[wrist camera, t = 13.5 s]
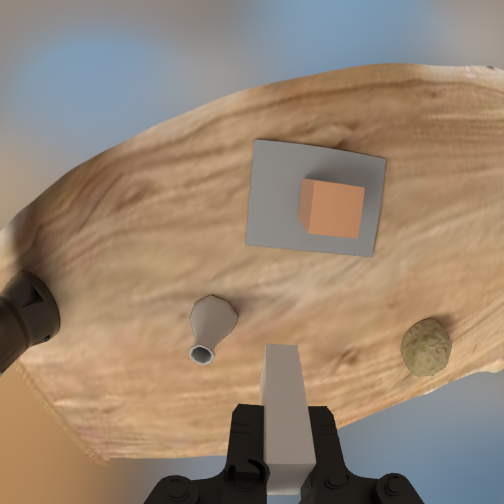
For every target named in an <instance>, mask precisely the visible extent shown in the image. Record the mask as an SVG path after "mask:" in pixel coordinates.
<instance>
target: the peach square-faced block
mask: <svg viewBox="0 0 504 504" xmlns="http://www.w3.org/2000/svg"><path fill="white" fill-rule="evenodd" d="M364 191H365V188H364V187H359V186H353V185H348V184H343V183H336V182H329V181H321V180H313V179H305V178H302V183H301V194H300V203H299V213H298V220H299V221H300V222H301V224H302V225H303V227H304V228H305V229H306V231H307V232H308V234H318V235H328V236H338V237H347V238H357V239H358V234H359V228H360V221H361V214H362V207H363V199H364Z"/></svg>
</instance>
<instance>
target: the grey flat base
mask: <svg viewBox="0 0 504 504" xmlns="http://www.w3.org/2000/svg"><path fill="white" fill-rule="evenodd" d="M385 165H386V159H383V158H378V157H374V156H369V155H364V154H359V153H353V152H348V151H342V150H337V149H330V148H324V147H317V146H310V145H303V144H295V143H287V142H278V141H267V140H256V139H254V150H253V161H252V172H251V184H250V196H249V208H248V219H247V231H246V244H245V245H248V246H259V247H270V248H280V249H291V250H302V251H312V252H323V253H333V254H343V255H354V256H364V257H372V254H373V249H374V243H375V238H376V232H377V226H378V220H379V214H380V207H381V200H382V192H383V184H384V175H385ZM302 178H305V179H313V180H321V181H329V182H336V183H343V184H348V185H353V186H359V187H364V188H365V191H364V199H363V207H362V214H361V221H360V228H359V234H358V239H357V238H347V237H338V236H328V235H318V234H308V232H307V231H306V229H305V228H304V227H303V225H302V224H301V222H300V221H299V220H298V213H299V203H300V194H301V183H302Z"/></svg>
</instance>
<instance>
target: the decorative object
mask: <svg viewBox="0 0 504 504" xmlns="http://www.w3.org/2000/svg"><path fill="white" fill-rule="evenodd" d="M451 348H452V342H451V340H450V338H449V335H448V332H446V331H445V329H444V328H443V327H442V326H441V325H440V324H439V323H438V322H436V320H434V319H433V320H432V319H427V320H424V321H420V322H419V323H417V324H415V325H414V326H413V327H411V328H410V329H409V330H408V331H407V333H406V334H405V336H404V338H403V340H402V344H401V353H402V357H403V360H404V362H405V365H406V366H407V368H408V369H409V370H410V371H411V372H412V373H413V374H414V375H415V376H417V377H420V376H433V375H434V374H436V373H437V372H439V371H441V370H443V369H444V368H445V367H446V365H447V363H448V359H449V356H450V352H451Z"/></svg>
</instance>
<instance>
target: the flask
mask: <svg viewBox="0 0 504 504" xmlns="http://www.w3.org/2000/svg"><path fill="white" fill-rule="evenodd" d="M189 318H190V322H191V326H192V329H193V334H194V346H192V347H191V349H190V352H189V356H190V358H191V359H192V360H193V361H194V362H195V363H198V364H200V365H203V366H204V365H207V364H209V363H212V361H213V359H214V356H215V353H214V348H215V347H216V345H217V344H218V343H219V342H220V341H221V340H222V339H224V338H225V337H226V336H227V335H228V334H229V333H230V332H231V331H232V330H233V328H234V325H235V323H236V321H237V319H238V316H237V314H236V313H235V311H234V310H233V308H232V307H231V305H230V304H229V302H227V301H224V300H222V299H219V298H217V297H214V296H212V295H209V296H207V297H205V298H204V299H202V300H200V301H198V302H196V303H195V304H194V307H193V309H192V312H191V315H190V317H189Z"/></svg>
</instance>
